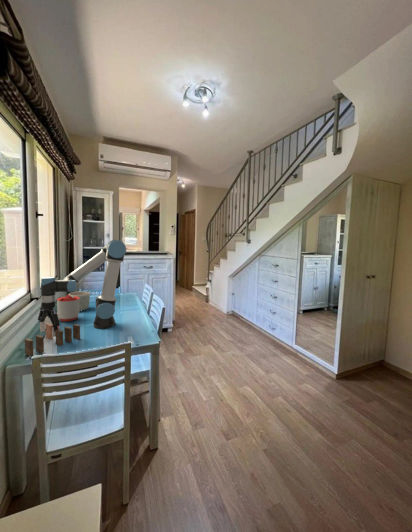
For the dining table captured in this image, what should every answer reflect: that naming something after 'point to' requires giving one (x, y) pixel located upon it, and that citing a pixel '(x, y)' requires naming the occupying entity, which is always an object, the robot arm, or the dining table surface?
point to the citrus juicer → (68, 308)
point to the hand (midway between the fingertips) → (48, 333)
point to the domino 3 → (49, 331)
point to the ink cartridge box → (47, 320)
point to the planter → (82, 299)
